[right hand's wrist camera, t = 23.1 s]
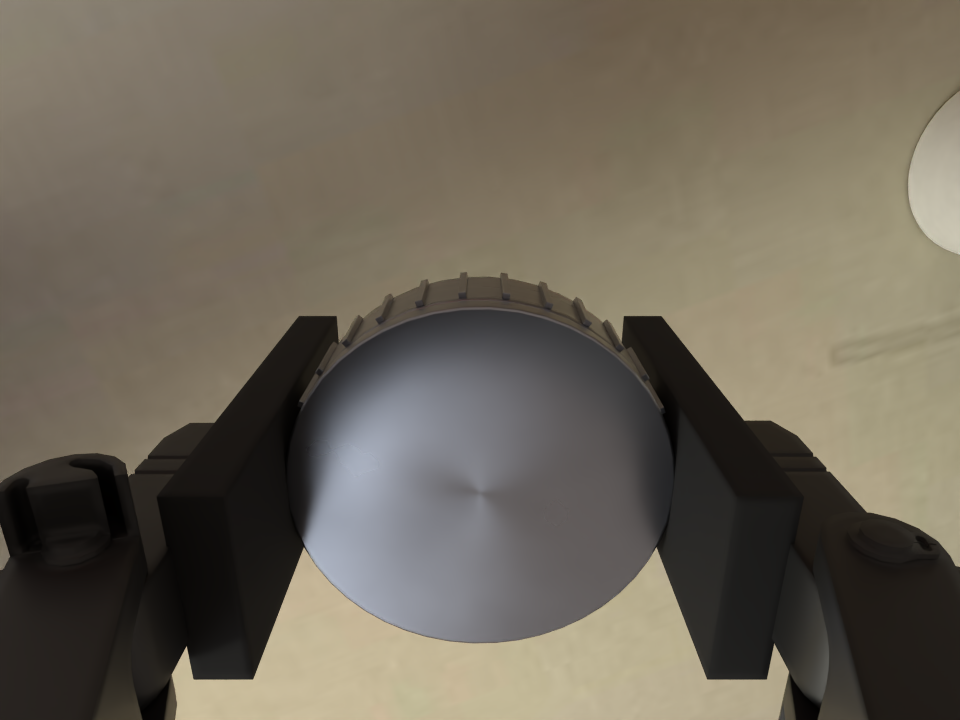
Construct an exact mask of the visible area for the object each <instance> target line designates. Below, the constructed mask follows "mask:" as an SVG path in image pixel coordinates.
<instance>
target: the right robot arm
mask: <svg viewBox="0 0 960 720" xmlns="http://www.w3.org/2000/svg"><path fill="white" fill-rule="evenodd" d="M333 342H335V343H337V344H339V340H338V328H337V316H299V317H298V318H297V319H296V321H295V322H294V323H293V325H292V326H291V327H290V328H289V330H288V331H287V332H286V333H285V335H284V336H283V337H282V338H281V340H280V341H279V342H278V343H277V345H276V346H275V347H274V349H273V350H272V351H271V352H270V354H269V355H268V356H267V357H266V359H265V360H264V361H263V362H262V364H261V365H260V366H259V368H258V369H257V370H256V371H255V373H254V374H253V375H252V376H251V378H250V379H249V380H248V381H247V383H246V384H245V385H244V386H243V388H242V389H241V390H240V392H239V393H238V394H237V395H236V397H235V398H234V399H233V400H232V402H231V403H230V404H229V405H228V407H227V408H226V409H225V411H224V412H223V413H222V414H221V416H220V417H219V418H218V419H217V421H216V422H215V423H189V424H188V425H186V426H184V427H182V428H181V429H179V430H177V431H175V432H174V433H172V434H170V435H168V436H167V437H165V438H163V440H162V441H161V442H160V443H159V444H158V445H157V446H156V447H155V448H154V450H153V451H152V452H151V453H150V454H149V455H148V459H145V460H144V461H143V462H142V463H141V464H140V465H139V466H138V467H137V468H136V470H135V474H131V475H130V476H129V477H128V474H127V470H126V465H125V463H124V462H122V461H121V460H119V459H118V458H116V457H115V456H109V455H103V454H98V453H95V454H74V455H69V456H64V457H60V458H55V459H50V460H47V461H44V462H41V463H38V464H36V465H33V466H30V467H27V468H24V469H23V470H21V471H19V472H17V473H16V474H14V475H12V476H10V477H8V478H7V479H5V480H3V481H2V482H1V483H0V525H1V528H2V531H3V534H4V538H5V541H6V544H7V547H8V551H9V554H10V558H9V560H8V562H7V564H6V566H5V568H4V569H3V570H0V720H175V715H176V707H177V701H176V694H175V688H174V684H173V679H172V673H173V671H174V669H175V667H176V665H177V663H178V661H179V659H180V657H181V656H182V654H183V652H184V650H185V648H186V646H187V649H188V654H189V659H190V664H191V669H192V674H193V678H194V679H253V678H254V676H255V673H256V670H257V668H258V665H259V663H260V660H261V657H262V655H263V652H264V650H265V647H266V644H267V642H268V639H269V637H270V634H271V631H272V629H273V626H274V623H275V621H276V618H277V616H278V613H279V610H280V608H281V605H282V603H283V600H284V597H285V595H286V592H287V590H288V587H289V584H290V582H291V579H292V577H293V574H294V571H295V569H296V566H297V563H298V561H299V558H300V556H301V553H302V550H303V548H304V546H303V543H302V541H301V539H300V537H299V535H298V533H297V531H296V528H295V525H294V522H293V519H292V515H291V512H290V505H289V497H288V489H287V481H286V457H287V451H288V445H289V439H290V436H291V433H292V430H293V427H294V424H295V421H296V418H297V416H298V414H299V412H300V410H301V408H300V407H298V406H297V405H298V403H299V401H300V399H301V397H302V395H303V394H304V392H305V390H306V388H307V387H308V385H309V383H310V382H311V380H312V378H313V376H314V375H315V372H316V370H317V368H318V367H319V365H320V363H321V361H322V360H323V358H324V356H325V354H326V353H327V351H328V349H329V348H330V346H331V345H332V343H333ZM622 344H623V346H624V347H625V348H626V350H627V349H628V348H630V347H631V348H632V349H633V351H634V352H635V354H636V356H637V358H638V359H639V361H640V363H641V365H642V366H643V368H644V370H645V371H646V373H647V375H648V377H649V382H650V384H651V385H652V387H653V389H654V391H655V392H656V394H657V396H658V398H659V399H660V401H661V403H662V405H663V406H664V408H665V411H666V413H664V414H663V417H664V419H665V422H666V425H667V427H668V430H669V433H670V437H671V442H672V447H673V451H674V458H675V477H674V486H673V494H672V502H671V509H670V515H669V519H668V522H667V525H666V527H665V529H664V532H663V534H662V537H661V539H660V542H659V543H658V545H657V549H658V552H659V555H660V557H661V560H662V562H663V565H664V568H665V570H666V573H667V575H668V578H669V581H670V583H671V586H672V588H673V591H674V594H675V596H676V599H677V601H678V604H679V607H680V609H681V612H682V615H683V617H684V620H685V622H686V625H687V628H688V630H689V633H690V635H691V638H692V641H693V643H694V646H695V648H696V651H697V654H698V656H699V659H700V661H701V664H702V667H703V669H704V672H705V675H706V677H707V679H767V676H768V671H769V666H770V661H771V656H772V651H773V646H774V643H775V645H776V647H777V649H778V651H779V653H780V655H781V657H782V659H783V661H784V662H785V664H786V666H787V668H788V670H789V675H788V679H787V684H786V688H785V693H784V697H783V702H782V707H781V711H780V716H779V720H960V567H957V566H955V564H954V562H953V561H952V559H951V557H950V555H949V554H948V553H947V552H946V550H945V549H944V548H943V547H942V546H941V545H940V543H939V542H938V541H936V540H935V539H933V538H932V537H930V536H929V535H927V534H926V533H924V532H923V531H921V530H920V529H918V528H916V527H914V526H911V525H909V524H907V523H904V522H902V521H899V520H897V519H894V518H890V517H886V516H882V515H878V514H874V513H867V512H866V511H865V510H864V509H863V508H862V507H861V506H860V504H859V503H858V502H857V501H856V500H855V499H854V498H853V497H852V496H851V495H850V493H849V492H848V491H847V490H846V489H845V488H844V487H843V486H842V485H841V484H840V482H839V481H838V480H837V479H836V478H835V477H834V476H833V475H832V474H831V473H830V472H827V471H826V467H825V466H824V465H823V464H822V463H821V462H820V460H819V459H818V458H817V457H813V453H812V452H811V451H810V449H809V448H808V447H807V446H806V445H805V444H804V443H803V442H802V441H801V440H800V438H799V437H798V436H797V435H795V434H793V433H791V432H790V431H788V430H786V429H784V428H783V427H781V426H779V425H777V424H776V423H774V422H772V421H744V420H743V419H742V418H741V416H740V415H739V414H738V412H737V411H736V410H735V409H734V407H733V406H732V405H731V404H730V402H729V401H728V400H727V399H726V397H725V396H724V395H723V393H722V392H721V391H720V390H719V388H718V387H717V386H716V385H715V383H714V382H713V381H712V380H711V378H710V377H709V376H708V375H707V373H706V372H705V371H704V369H703V368H702V367H701V366H700V364H699V363H698V362H697V361H696V359H695V358H694V357H693V356H692V354H691V353H690V352H689V350H688V349H687V348H686V347H685V345H684V344H683V343H682V342H681V340H680V339H679V338H678V337H677V335H676V334H675V333H674V332H673V330H672V329H671V328H670V326H669V325H668V324H667V323H666V321H665V320H664V319H663V318H662V316H624V321H623V333H622Z"/></svg>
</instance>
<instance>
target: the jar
mask: <svg viewBox="0 0 960 720" xmlns="http://www.w3.org/2000/svg"><path fill="white" fill-rule="evenodd" d="M908 195H909V201H910V206H911V210H912V212H913V215H914V218H915V220H916V222H917V223H918V225H919V227H920V228H921V230H922V231H923V232H924V233H925V234H926V236H927V237H928V238H930V239H931V240H932V241H933V242H934V243H935V244H937V245H939V246H940V247H942V248H944V249H946V250H948V251H951V252H953V253H956V254H959V255H960V91H958V92H957V93H956V94H955V95H954V96H953V97H951V98H950V99H949V100H948V101H947V102H946V103H945V104H944V105H943V106H942V107H941V108H940V110H939V111H938V112H937V113H936V114H935V116H934V117H933V118H932V120H931V121H930V122H929V124H928V125H927V127H926V129H925V130H924V132H923V134H922V135H921V137H920V139H919V142H918V144H917V146H916V148H915V151H914V154H913V157H912V160H911V165H910V170H909V177H908Z"/></svg>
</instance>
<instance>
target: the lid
mask: <svg viewBox="0 0 960 720" xmlns="http://www.w3.org/2000/svg"><path fill="white" fill-rule="evenodd" d="M297 406H298V407H300V408H301V410H300V412H299V414H298V416H297V418H296V421H295V424H294V427H293V430H292V433H291V436H290V439H289V445H288V451H287V457H286V481H287V489H288V497H289V505H290V512H291V515H292V519H293V522H294V525H295V528H296V531H297V533H298V535H299V537H300V539H301V541H302V543H303V546H304V548H305V549H306V551H307V552H308V554H309V555H310V557H311V559H312V560H313V562H314V563H315V565H316V566H317V567H318V569H319V570H320V571H321V572H322V573H323V574H324V576H325V577H326V578H327V579H328V580H329V582H330V583H331V584H332V585H334V586H335V587H336V588H337V589H338V590H339V591H340V592H341V593H342V594H343V595H344V596H346V597H347V598H348V599H349V600H351V601H352V602H354V603H355V604H356V605H358V606H359V607H361V608H362V609H363V610H365V611H366V612H368V613H370V614H372V615H374V616H375V617H377V618H379V619H381V620H383V621H384V622H387V623H389V624H391V625H394V626H396V627H399V628H401V629H403V630H406V631H409V632H412V633H416V634H419V635H422V636H426V637H430V638H435V639H441V640H446V641H453V642H464V643H498V642H507V641H515V640H521V639H526V638H530V637H535V636H539V635H542V634H545V633H548V632H551V631H554V630H557V629H560V628H563V627H565V626H567V625H569V624H572V623H574V622H576V621H578V620H580V619H582V618H584V617H586V616H587V615H589V614H591V613H592V612H594V611H596V610H597V609H599V608H601V607H602V606H603V605H605V604H606V603H607V602H609V601H610V600H611V599H612V598H614V597H615V596H616V595H618V594H619V593H620V592H621V591H622V590H623V589H624V588H625V587H626V586H627V585H628V584H629V583H630V582H631V581H632V580H633V579H634V578H635V577H636V576H637V574H638V573H639V572H640V571H641V569H642V568H643V567H644V565H645V564H646V563H647V562H648V560H649V559H650V557H651V555H652V554H653V552H654V550H655V548H656V547H657V545H658V543H659V542H660V539H661V537H662V534H663V532H664V529H665V527H666V525H667V522H668V519H669V515H670V509H671V502H672V494H673V486H674V477H675V458H674V451H673V447H672V442H671V437H670V433H669V430H668V427H667V425H666V422H665V419H664V417H663V414H664V413H666V411H665V408H664V406H663V405H662V403H661V401H660V399H659V398H658V396H657V394H656V392H655V391H654V389H653V387H652V385H651V384H650V382H649V377H648V375H647V373H646V371H645V370H644V368H643V366H642V365H641V363H640V361H639V359H638V358H637V356H636V354H635V352H634V351H633V349H632V348H631V347H630V348H628V349H627V350H626V348H625V347H624V346H623V344H622V342H621V340H620V339H619V337H618V335H617V333H616V331H615V329H614V328H613V326H612V324H611V323H610V322H609V321H608V320H606V321H605V322H603V323H602V322H601V321H600V320H599V319H598V318H597V317H596V316H594V315H593V314H591V313H590V312H589V311H587V310H586V309H585V307H584V305H583V302H582V300H580V299H579V298H577V297H576V298H575V299H574V301H572V300H570V299H568V298H566V297H564V296H562V295H561V294H559V293H556V292H553V291H551V290H548V287H547V284H546V283H544V282H541V281H540V283H539V285H534V284H530V283H526V282H521V281H517V280H513V279H508V274H506V273H501V275H500V278H494V277H468V275H467V272H464V273H460V278H457V279H450V280H443V281H438V282H435V283H431V284H429V282H428V279H426V280H423V281H421V283H420V287H417V288H415V289H412V290H410V291H408V292H405V293H403V294H401V295H398V296H396V297H394V298H393V296H392V295H391V294H389V295H387V296H385V298H384V301H383V303H382V305H381V306H379V307H377V308H376V309H374V310H373V311H372V312H370V313H369V314H368V315H367V316H365V317H364V318H362V317H361V316H360V315H358V316H357V317H356V318H355V319H354V321H353V323H352V324H351V326H350V328H349V330H348V332H347V334H346V335H345V337H344V338H343V339H342V340H341V341H340V343H339V344H337V343H335V342H333V343H332V345H331V346H330V348H329V349H328V351H327V353H326V354H325V356H324V358H323V360H322V361H321V363H320V365H319V367H318V368H317V370H316V372H315V375H314V376H313V378H312V380H311V382H310V383H309V385H308V387H307V388H306V390H305V392H304V394H303V395H302V397H301V399H300V401H299V403H298V405H297Z"/></svg>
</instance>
